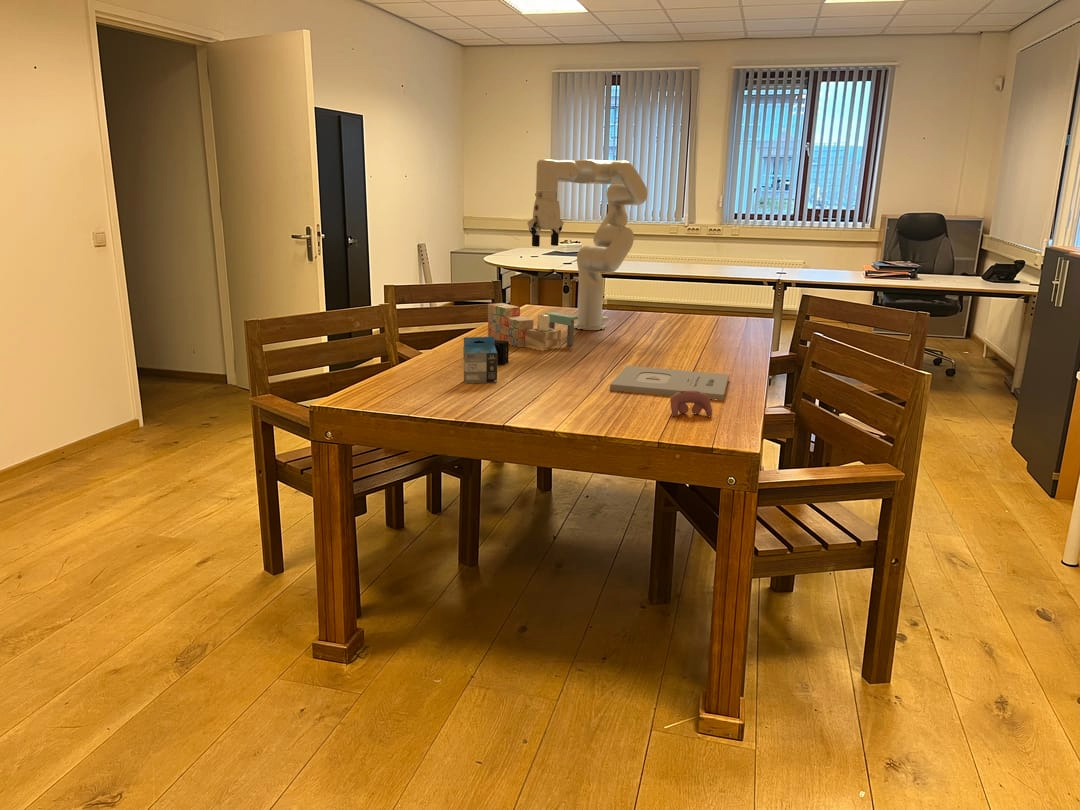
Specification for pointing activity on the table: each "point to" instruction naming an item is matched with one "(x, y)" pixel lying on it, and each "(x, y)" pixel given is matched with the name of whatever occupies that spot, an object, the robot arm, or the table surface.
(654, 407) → the table surface
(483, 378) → the label tape box
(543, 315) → the peg
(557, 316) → the teal bridge block
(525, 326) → the stack of blocks
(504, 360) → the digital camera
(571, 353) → the table surface
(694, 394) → the video game controller
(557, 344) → the socket
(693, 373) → the award plaque
